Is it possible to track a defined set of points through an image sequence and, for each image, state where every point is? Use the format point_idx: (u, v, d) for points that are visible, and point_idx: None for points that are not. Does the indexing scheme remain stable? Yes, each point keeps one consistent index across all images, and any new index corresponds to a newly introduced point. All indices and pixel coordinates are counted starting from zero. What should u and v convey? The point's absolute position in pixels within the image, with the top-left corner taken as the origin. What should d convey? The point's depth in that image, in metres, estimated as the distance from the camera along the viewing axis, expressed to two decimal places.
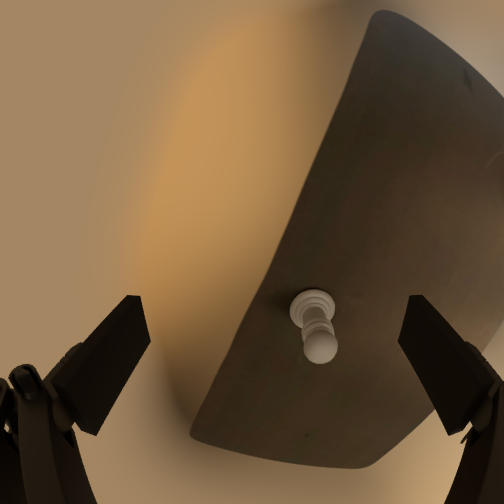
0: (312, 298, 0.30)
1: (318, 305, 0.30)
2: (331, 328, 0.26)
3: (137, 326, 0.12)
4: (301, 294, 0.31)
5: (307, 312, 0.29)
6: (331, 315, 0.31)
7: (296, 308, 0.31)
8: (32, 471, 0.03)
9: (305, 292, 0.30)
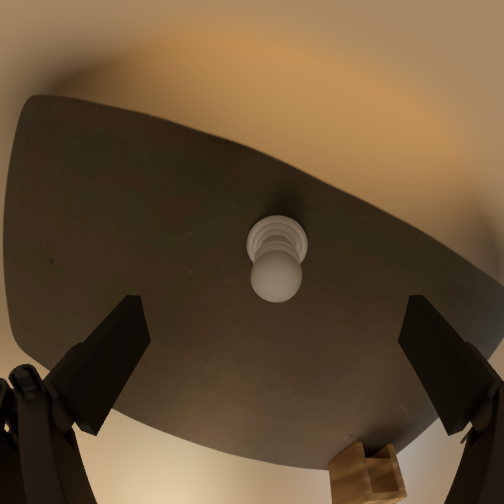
0: (300, 245, 0.23)
1: None
2: None
3: (137, 326, 0.12)
4: (302, 229, 0.23)
5: (288, 242, 0.22)
6: None
7: (285, 225, 0.23)
8: (32, 471, 0.03)
9: (305, 234, 0.24)
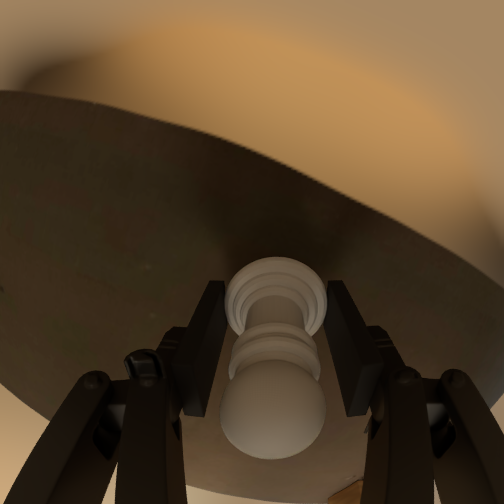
0: (316, 309, 0.13)
1: (303, 326, 0.13)
2: None
3: (222, 309, 0.14)
4: (320, 282, 0.13)
5: (297, 311, 0.12)
6: None
7: (291, 276, 0.13)
8: (132, 466, 0.04)
9: (324, 290, 0.13)
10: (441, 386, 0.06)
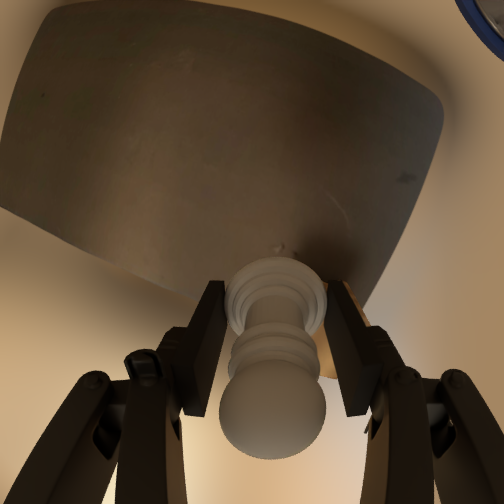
0: (316, 309, 0.13)
1: None
2: None
3: (222, 309, 0.14)
4: (320, 281, 0.13)
5: (297, 311, 0.12)
6: None
7: (291, 276, 0.13)
8: (132, 466, 0.04)
9: (324, 289, 0.13)
10: (441, 386, 0.06)
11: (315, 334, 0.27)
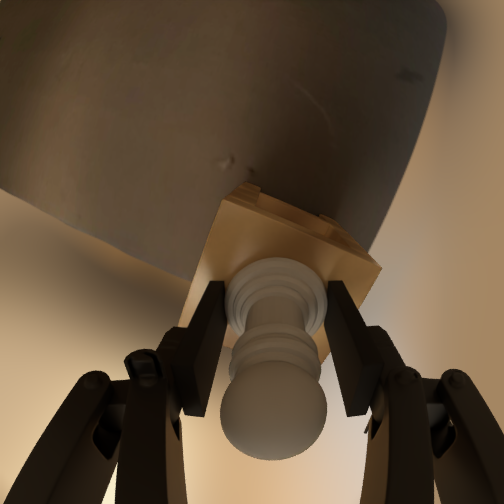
0: (316, 309, 0.13)
1: None
2: None
3: (222, 309, 0.14)
4: (320, 282, 0.13)
5: (297, 312, 0.12)
6: None
7: (291, 277, 0.13)
8: (132, 466, 0.04)
9: (324, 290, 0.13)
10: (441, 386, 0.06)
11: None
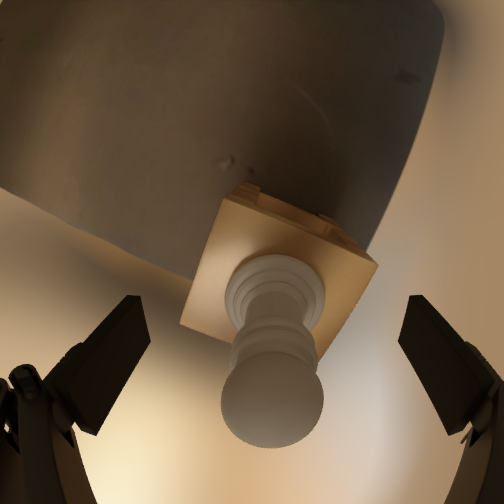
0: (314, 305, 0.14)
1: None
2: None
3: (137, 326, 0.12)
4: (318, 278, 0.14)
5: (295, 306, 0.12)
6: None
7: (289, 273, 0.13)
8: (32, 471, 0.03)
9: (322, 286, 0.14)
10: None
11: None
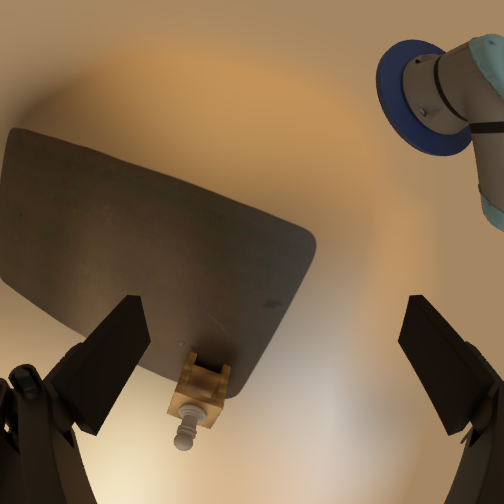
0: (201, 417, 0.42)
1: (198, 421, 0.42)
2: (192, 439, 0.39)
3: (137, 326, 0.12)
4: (202, 411, 0.42)
5: (194, 419, 0.41)
6: None
7: (193, 410, 0.42)
8: (32, 471, 0.03)
9: (204, 412, 0.43)
10: None
11: None
